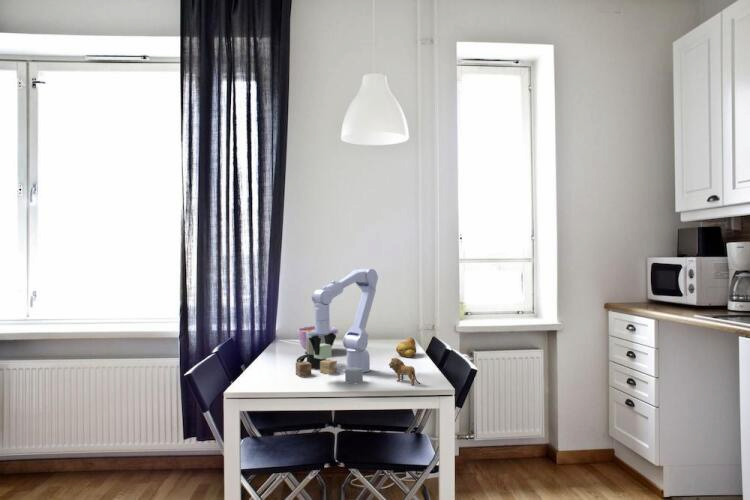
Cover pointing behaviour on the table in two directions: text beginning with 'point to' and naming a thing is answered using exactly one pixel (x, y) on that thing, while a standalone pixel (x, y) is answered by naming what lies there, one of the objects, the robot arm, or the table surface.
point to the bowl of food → (303, 335)
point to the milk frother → (312, 354)
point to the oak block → (328, 366)
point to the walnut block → (303, 369)
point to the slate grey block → (354, 375)
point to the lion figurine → (403, 370)
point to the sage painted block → (324, 352)
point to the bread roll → (407, 348)
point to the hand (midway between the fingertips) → (322, 353)
